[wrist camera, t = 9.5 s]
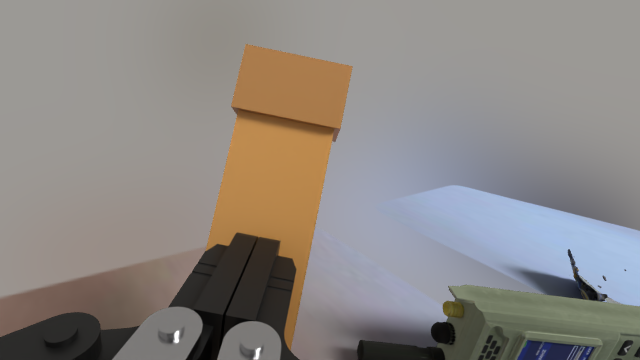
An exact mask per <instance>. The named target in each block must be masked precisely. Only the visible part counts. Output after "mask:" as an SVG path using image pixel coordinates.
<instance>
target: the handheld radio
mask: <svg viewBox="0 0 640 360" xmlns="http://www.w3.org/2000/svg"><path fill="white" fill-rule="evenodd" d="M448 287H449V290H450V292H451V293H452V295H453V296H454V297H455V298H456V299H455V301H454V302H452V301H446V302H444V304H443V312H444V314H445V315H446V316H447V317H448V319H447V322H443V323H441V322H437V323H435V324H434V325H433V326H432V328H431V335H432V337H433V339H434V340H435V341H436V342H438V345H437V347H427V348H419V347H417V346H411V345H402V344H393V343H383V342H374V341H365V340H360V342H359V345H358V349H357V353H358V359H359V360H640V307H639V306H631V305H623V304H615V303H608V302H600V301H592V300H584V299H576V298H568V297H560V296H552V295H544V294H536V293H528V292H519V291H511V290H503V289H495V288H488V287H479V286H472V285H463V286H460V287H459V286H448Z"/></svg>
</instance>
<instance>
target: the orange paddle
mask: <svg viewBox="0 0 640 360" xmlns="http://www.w3.org/2000/svg"><path fill="white" fill-rule="evenodd" d="M351 72H352V66H349V65H344V64H339V63H334V62H329V61H324V60H320V59H315V58H310V57H305V56H300V55H296V54H291V53H286V52H281V51H277V50H272V49H266V48H262V47H257V46H253V45H248V44H246V45H245V50H244V54H243V58H242V62H241V66H240V71H239V75H238V79H237V84H236V88H235V92H234V96H233V101H232V105H231V107H232V108H233V110H234V111H235V112H236V114H237V118H236V123H235V127H234V132H233V135H232V140H231V144H230V148H229V153H228V157H227V161H226V166H225V171H224V174H223V179H222V183H221V187H220V192H219V196H218V200H217V205H216V209H215V213H214V217H213V222H212V226H211V231H210V235H209V239H208V243H207V248H206V251H207V250H208V249H210V248H212V247H213V246H215V245H216V244H221V245H226V246H229V244H230V243H231V241H232V239H233V237H234V236H235V234H236V233H237V232H239V233H244V234H249V235H254V236H258V238H259V237H264V238H269V239H274V240H279V241H281V242H280V249H279V254H278V256H282V257H287V258H292V259H293V261H294V264H295V267H296V269H297V270H296V275H295V280H294V285H293V290H292V295H291V300H290V305H289V310H288V315H287V321H286V326H285V331H284V337H285V342H286V344H287V347H288V348H289V350H291V345H292V340H293V335H294V330H295V325H296V320H297V315H298V310H299V305H300V300H301V295H302V290H303V285H304V280H305V275H306V270H307V265H308V260H309V254H310V249H311V244H312V239H313V234H314V229H315V224H316V219H317V214H318V209H319V204H320V199H321V194H322V189H323V183H324V178H325V173H326V169H327V164H328V158H329V154H330V148H331V143H332V141H334V142H335V141H336V138H337V136H338V133H339V131H340V128H341V122H342V118H343V112H344V107H345V102H346V97H347V92H348V87H349V81H350V77H351Z"/></svg>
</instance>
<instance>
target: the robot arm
mask: <svg viewBox="0 0 640 360" xmlns="http://www.w3.org/2000/svg"><path fill="white" fill-rule="evenodd" d="M280 242H281V241H279V240H274V239H269V238H264V237H259V238H258V236H254V235H249V234H244V233H239V232H237V233H236V234H235V236H234V237H233V239H232V241H231V243H230V244H229V246H226V245H221V244H216V245H215V246H213V247H212V248H210V249H208V250H207V251H205V253H204V254H203V256H202V257H201V259H200V260H199V262H198V264H197V265H196V266H195V268H194V269H193V271H192V273H191V274H190V275H189V277H188V278H187V280H186V281H185V283H184V284H183V286H182V287H181V289H180V290H179V292H178V293H177V295H176V296H175V298H174V299H173V301H172V302H171V304H170V305H169V307H168V308H165V309H162V310H159V311H157V312H155V313H153V314H152V315H150V316H149V317H148V318H147V319H146V320H145V321H144V322H143V323H142V324H141V326H137V327H132V328H123V329H110V330H100V323H99V321H98V320H97V319H96V318H95V317H94V316H92V315H90V314H86V313H80V312H74V313H66V314H61V315H58V316H55V317H52V318H49V319H47V320H44V321H41V322H39V323H36V324H34V325H31V326H28V327H26V328H23V329H21V330H18V331H15V332H13V333H10V334H7V335H5V336H2V337H0V360H299V359H298V358H297V357H296V356H294V355H293V354H292V352H291V351H290V350H289V348H288V347H287V344H286V342H285V337H284V331H285V326H286V321H287V315H288V310H289V305H290V300H291V295H292V290H293V285H294V280H295V275H296V270H297V269H296V267H295V264H294V261H293V259H292V258H287V257H282V256H278V254H279V249H280Z"/></svg>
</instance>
